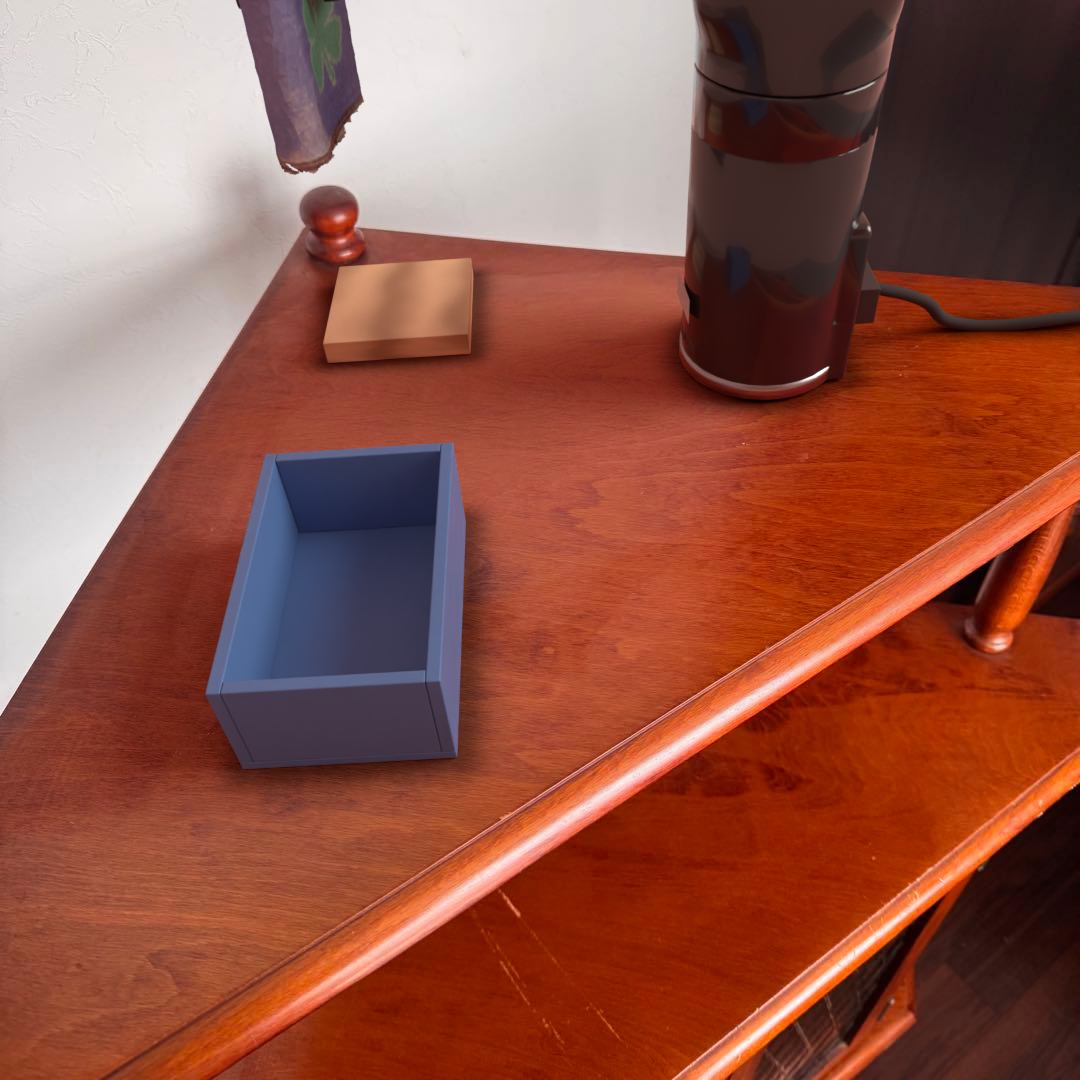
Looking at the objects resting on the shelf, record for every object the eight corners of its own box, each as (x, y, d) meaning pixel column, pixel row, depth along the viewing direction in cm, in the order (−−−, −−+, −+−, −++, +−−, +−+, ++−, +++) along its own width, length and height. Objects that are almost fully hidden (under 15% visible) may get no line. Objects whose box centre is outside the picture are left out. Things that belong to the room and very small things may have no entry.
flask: (324, 176, 46) (262, -91, 39) (263, 177, 47) (190, -88, 39) (372, 93, 53) (326, -151, 45) (317, 94, 53) (263, -147, 45)
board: (473, 276, 69) (471, 257, 68) (470, 354, 63) (467, 334, 62) (343, 285, 70) (339, 266, 68) (327, 363, 63) (322, 343, 62)
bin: (466, 522, 53) (453, 441, 49) (457, 757, 43) (440, 680, 39) (291, 532, 53) (264, 453, 49) (242, 769, 43) (204, 694, 39)
